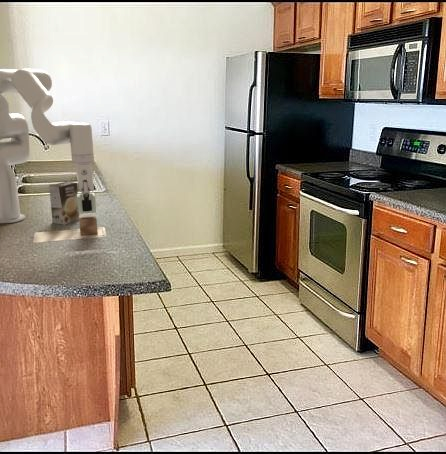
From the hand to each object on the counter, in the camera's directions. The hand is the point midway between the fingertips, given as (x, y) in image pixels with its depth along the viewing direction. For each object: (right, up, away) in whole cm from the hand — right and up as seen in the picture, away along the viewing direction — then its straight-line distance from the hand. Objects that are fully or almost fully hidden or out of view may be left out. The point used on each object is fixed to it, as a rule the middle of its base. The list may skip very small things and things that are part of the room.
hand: (87, 208), depth 180 cm
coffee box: (-14, -5, +20) cm, 24 cm away
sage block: (0, -1, 0) cm, 1 cm away
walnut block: (0, -9, +3) cm, 9 cm away
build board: (-6, -10, +1) cm, 12 cm away
